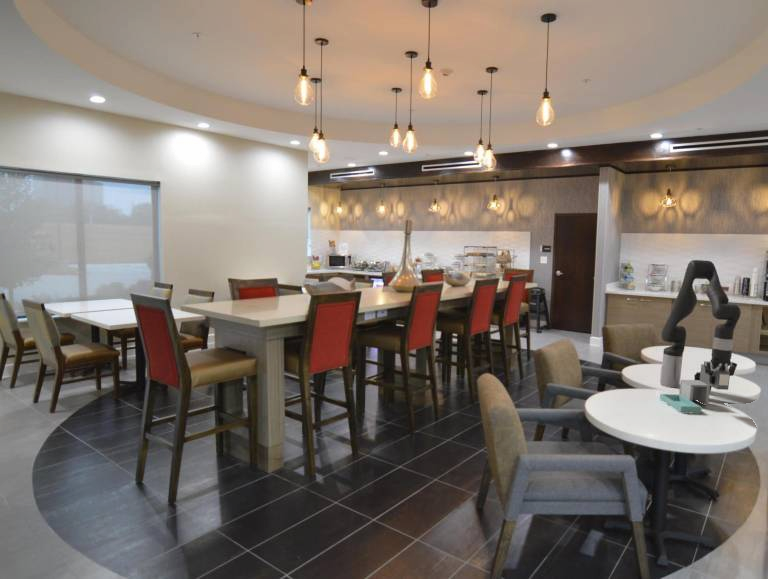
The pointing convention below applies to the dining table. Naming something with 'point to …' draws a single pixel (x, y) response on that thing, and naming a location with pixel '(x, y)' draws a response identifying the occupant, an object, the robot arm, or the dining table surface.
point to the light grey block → (695, 390)
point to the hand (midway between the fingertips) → (718, 384)
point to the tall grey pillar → (716, 378)
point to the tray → (680, 403)
